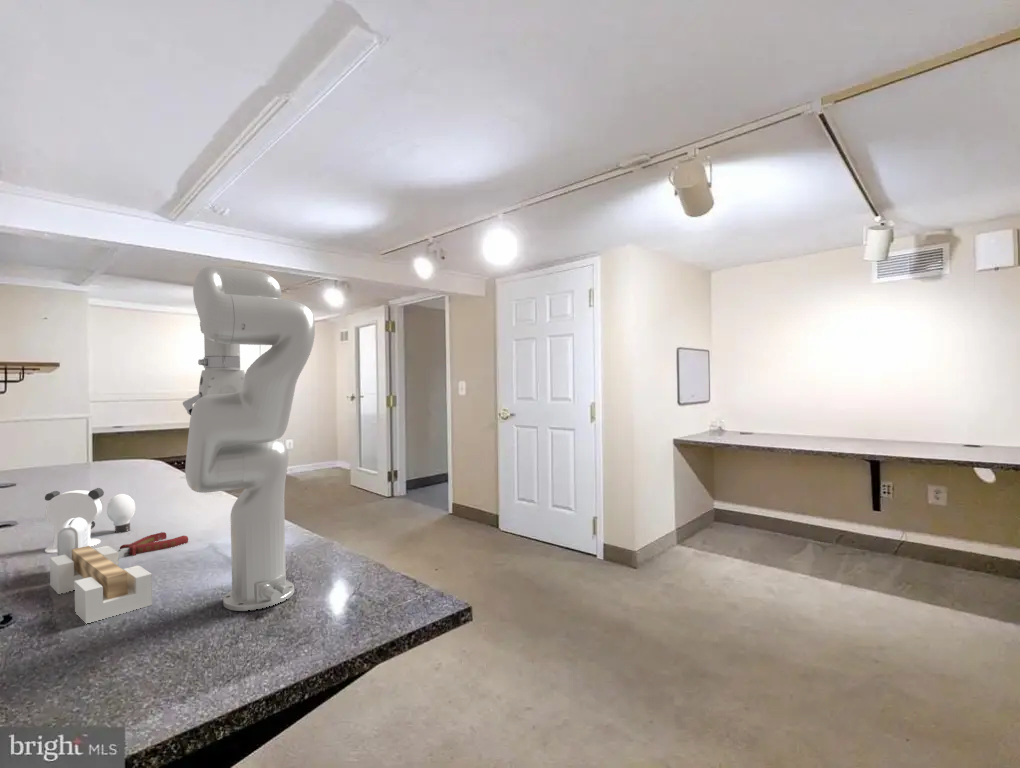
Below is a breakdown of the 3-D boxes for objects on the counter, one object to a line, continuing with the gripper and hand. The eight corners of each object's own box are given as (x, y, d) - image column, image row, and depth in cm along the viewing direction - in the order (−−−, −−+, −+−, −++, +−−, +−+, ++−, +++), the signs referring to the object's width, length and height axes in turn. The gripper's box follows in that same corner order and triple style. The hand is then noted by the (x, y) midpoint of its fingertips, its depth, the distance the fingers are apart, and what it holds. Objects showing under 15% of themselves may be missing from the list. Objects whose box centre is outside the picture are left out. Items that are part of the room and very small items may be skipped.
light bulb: (140, 529, 151) (139, 492, 151) (113, 535, 145) (112, 497, 145) (130, 526, 154) (129, 490, 154) (103, 532, 149) (102, 495, 149)
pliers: (78, 563, 123) (78, 552, 123) (163, 539, 142) (163, 530, 142) (106, 569, 119) (106, 558, 119) (190, 544, 137) (190, 534, 137)
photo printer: (67, 567, 119) (66, 515, 119) (91, 564, 121) (90, 512, 121) (55, 582, 110) (53, 525, 110) (80, 578, 112) (79, 522, 112)
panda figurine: (110, 537, 143) (109, 484, 143) (93, 549, 133) (92, 492, 133) (57, 543, 139) (56, 488, 139) (35, 555, 129) (34, 497, 129)
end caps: (152, 604, 97) (151, 573, 97) (85, 624, 89) (85, 591, 89) (108, 571, 116) (107, 545, 116) (50, 585, 108) (49, 557, 108)
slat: (127, 594, 95) (127, 572, 95) (108, 599, 93) (107, 577, 93) (89, 563, 113) (89, 545, 113) (71, 567, 110) (71, 549, 110)
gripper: (188, 363, 114) (190, 439, 114) (265, 364, 127) (267, 432, 127) (176, 364, 118) (178, 437, 118) (251, 365, 132) (253, 431, 132)
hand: (224, 434), depth 123 cm, fingers open, 9 cm apart
